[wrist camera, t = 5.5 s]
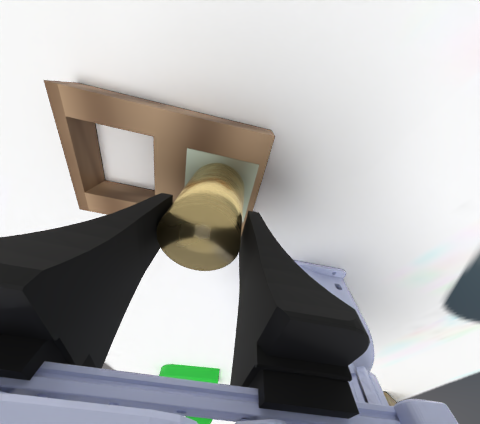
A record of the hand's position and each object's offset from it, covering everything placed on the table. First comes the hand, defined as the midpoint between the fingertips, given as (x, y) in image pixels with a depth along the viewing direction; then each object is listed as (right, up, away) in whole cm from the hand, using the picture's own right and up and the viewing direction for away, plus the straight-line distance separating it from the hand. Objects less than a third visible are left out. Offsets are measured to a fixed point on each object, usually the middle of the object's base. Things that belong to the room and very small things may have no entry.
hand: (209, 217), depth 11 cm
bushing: (0, +2, +3) cm, 4 cm away
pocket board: (-4, +4, +5) cm, 8 cm away
